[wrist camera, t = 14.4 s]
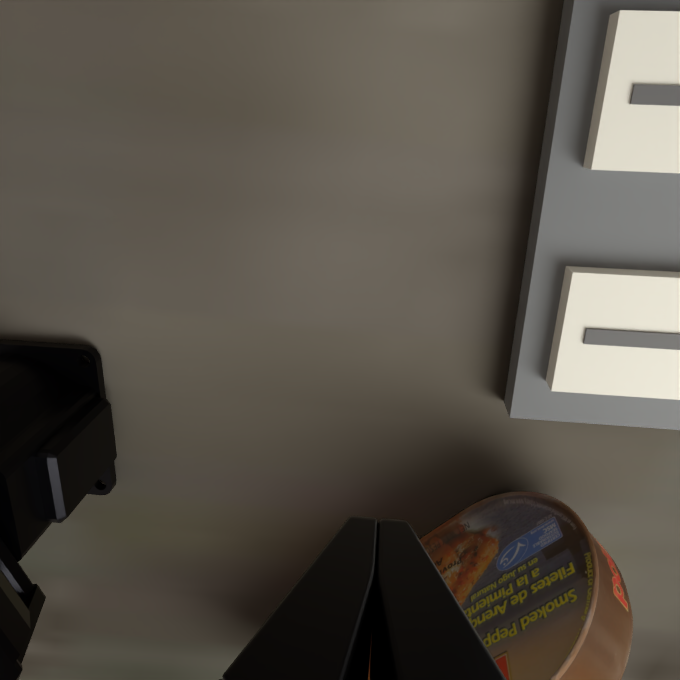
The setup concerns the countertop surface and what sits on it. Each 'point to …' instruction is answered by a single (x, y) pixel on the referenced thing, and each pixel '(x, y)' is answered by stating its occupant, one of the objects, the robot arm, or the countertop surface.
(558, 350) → the label board
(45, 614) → the countertop surface
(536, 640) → the tin
